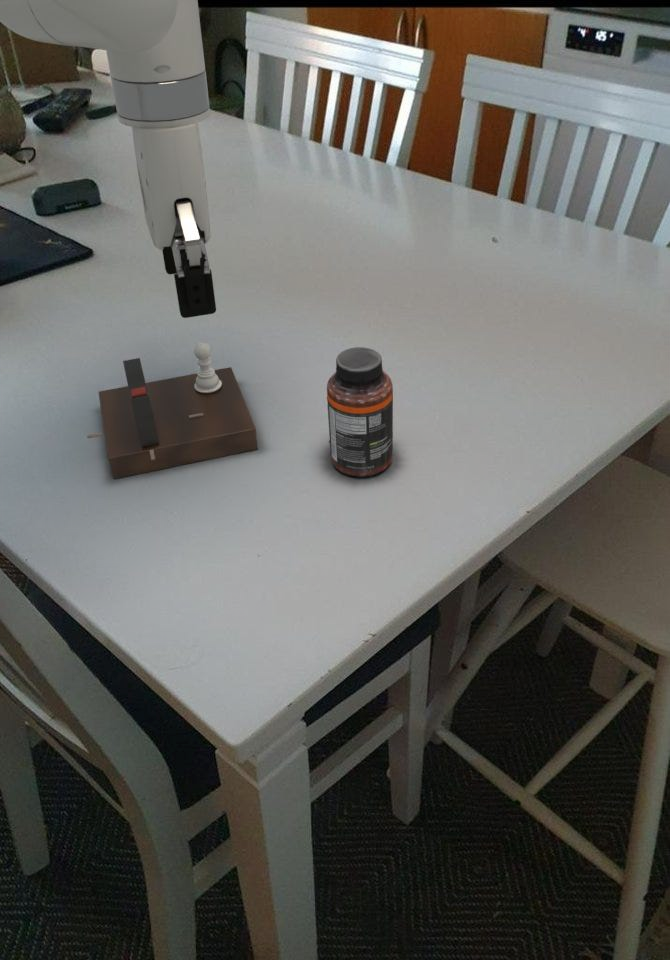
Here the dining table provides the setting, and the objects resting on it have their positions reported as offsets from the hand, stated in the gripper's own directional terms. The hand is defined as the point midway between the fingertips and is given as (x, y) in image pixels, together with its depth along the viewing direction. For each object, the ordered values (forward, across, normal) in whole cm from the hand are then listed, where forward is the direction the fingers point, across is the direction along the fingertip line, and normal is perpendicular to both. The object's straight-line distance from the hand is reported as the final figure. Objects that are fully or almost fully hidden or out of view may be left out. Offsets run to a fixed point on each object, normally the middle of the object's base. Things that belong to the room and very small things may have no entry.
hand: (190, 291), depth 77 cm
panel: (+13, +3, -4) cm, 14 cm away
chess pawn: (+11, 0, 0) cm, 11 cm away
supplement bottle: (+14, +14, +13) cm, 23 cm away
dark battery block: (+11, +5, -6) cm, 13 cm away
